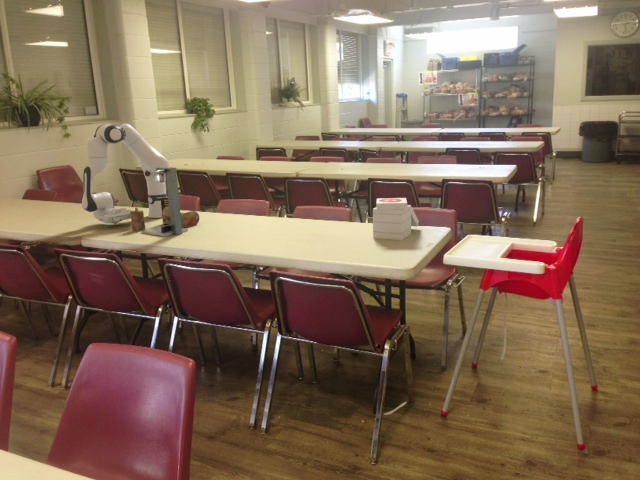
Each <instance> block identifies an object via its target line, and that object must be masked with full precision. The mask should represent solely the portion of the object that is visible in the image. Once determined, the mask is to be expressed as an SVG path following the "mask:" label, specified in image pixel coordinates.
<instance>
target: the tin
mask: <svg viewBox="0 0 640 480" xmlns="http://www.w3.org/2000/svg"><path fill="white" fill-rule="evenodd" d="M199 221H200V215H199V212H197V211H196V210H190V211H186V212H183V213H181V224H182V227H183V228H184V227H186V228H189V227H188V226H190V227H194V226H196V225H198V223H199ZM193 225H194V226H193Z"/></svg>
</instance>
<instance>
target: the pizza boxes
mask: <svg viewBox="0 0 640 480" xmlns="http://www.w3.org/2000/svg"><path fill="white" fill-rule="evenodd" d="M419 222H420V221H419V219H418V217H417V215H416V213H415V210H414V208H413V207H412V205H411V204H408V201H407V197H392V198H391V197H388V198H385V197H384V198H382V197H381V198H376V206H375V207H374V208H372V239H380V240H381V239H383V240H394V241H403V240H404V239H405V238H407V237H408V236H410V235H412V227H418V226H419Z"/></svg>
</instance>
